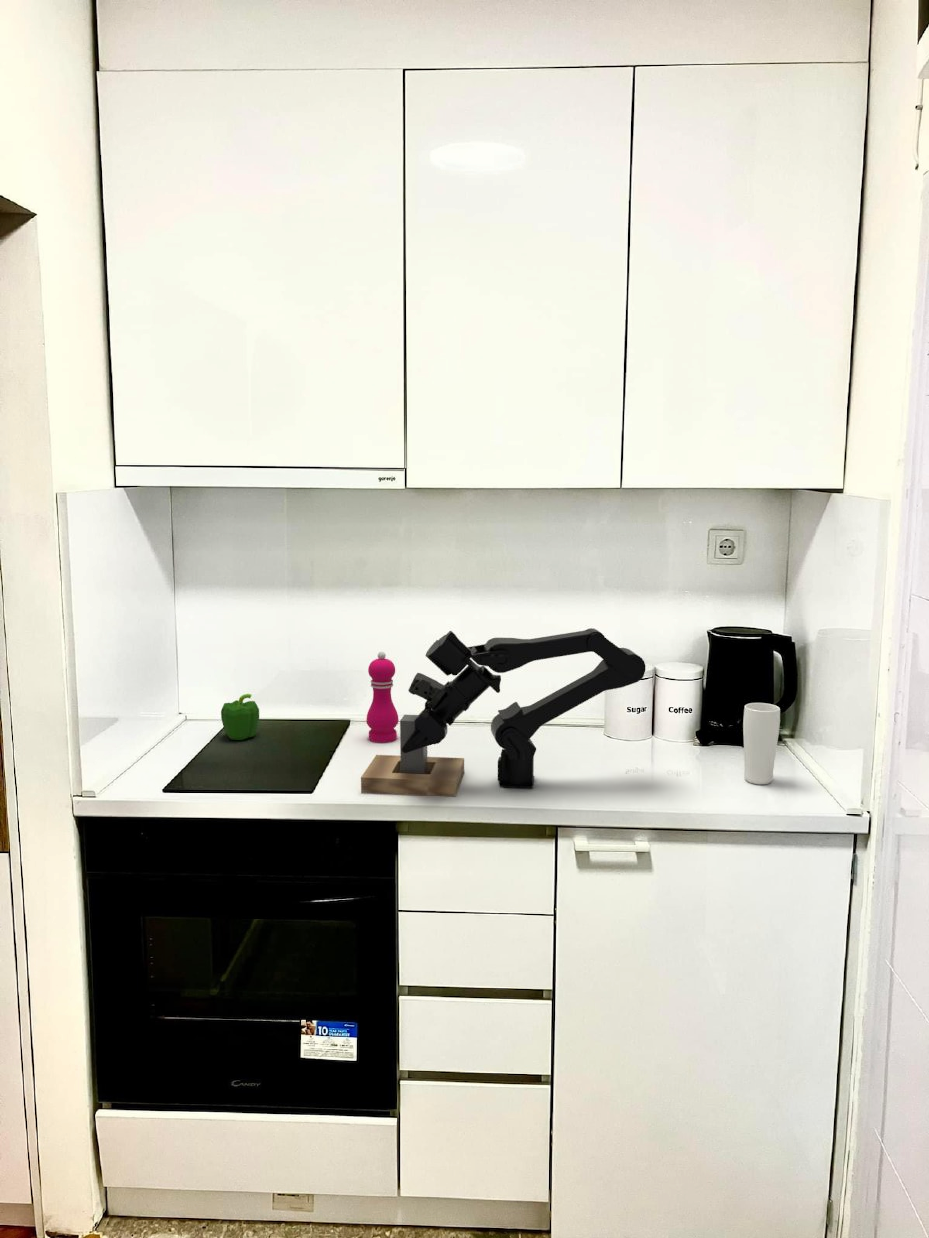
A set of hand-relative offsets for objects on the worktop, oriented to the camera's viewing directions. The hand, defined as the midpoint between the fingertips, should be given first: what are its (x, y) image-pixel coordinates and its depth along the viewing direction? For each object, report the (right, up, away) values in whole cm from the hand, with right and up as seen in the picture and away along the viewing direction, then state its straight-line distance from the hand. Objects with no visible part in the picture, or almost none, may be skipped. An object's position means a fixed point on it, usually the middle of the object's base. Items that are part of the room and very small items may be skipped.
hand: (407, 744), depth 188 cm
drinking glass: (+69, -8, +2) cm, 69 cm away
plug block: (+1, -8, +1) cm, 8 cm away
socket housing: (+1, -8, +1) cm, 8 cm away
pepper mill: (-7, -3, +30) cm, 31 cm away
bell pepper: (-39, -3, +31) cm, 50 cm away
